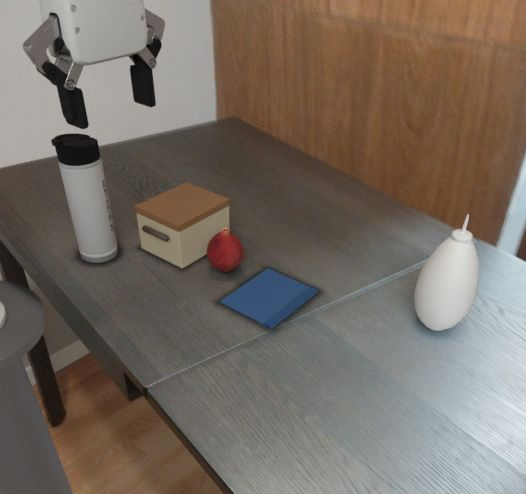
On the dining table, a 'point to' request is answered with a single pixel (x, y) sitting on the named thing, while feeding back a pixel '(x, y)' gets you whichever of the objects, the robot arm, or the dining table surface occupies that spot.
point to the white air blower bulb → (448, 281)
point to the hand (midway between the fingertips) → (112, 114)
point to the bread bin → (181, 223)
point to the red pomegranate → (224, 251)
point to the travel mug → (87, 196)
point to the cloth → (269, 297)
